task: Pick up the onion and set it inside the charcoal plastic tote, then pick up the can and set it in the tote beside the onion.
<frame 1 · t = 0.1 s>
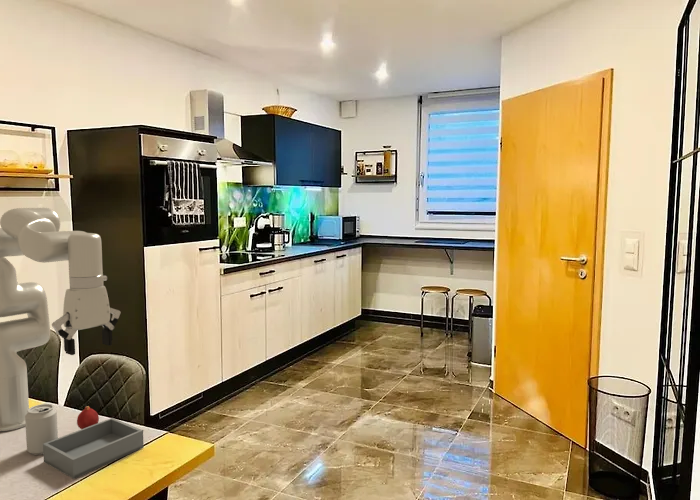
hand: (89, 349, 132), 31 cm above the table, tool pointing down, fingers open, 9 cm apart
onion: (88, 432, 154), on the table
tote: (95, 454, 141), on the table
can: (42, 450, 143), on the table
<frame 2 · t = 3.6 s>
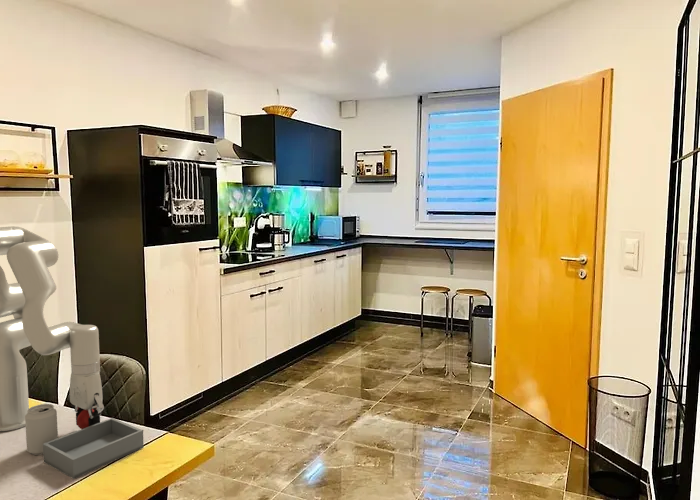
hand: (88, 426, 154), 2 cm above the table, tool pointing down, fingers closed on onion, 5 cm apart
onion: (88, 432, 154), on the table, touching gripper
everything else where it was.
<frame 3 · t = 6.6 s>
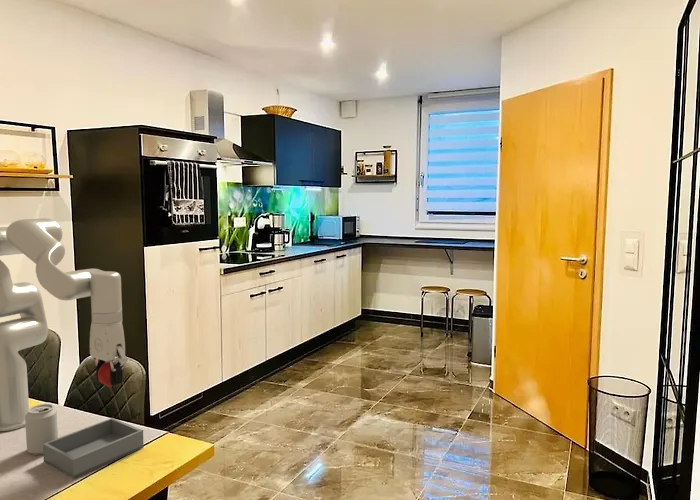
hand: (109, 380, 143), 19 cm above the table, tool pointing down, fingers closed on onion, 5 cm apart
onion: (109, 387, 143), point 17 cm above the table, touching gripper
everything else where it was.
when the fingers open (5 cm above the table, at t = 9.7 s): onion drops 2 cm, resting on tote.
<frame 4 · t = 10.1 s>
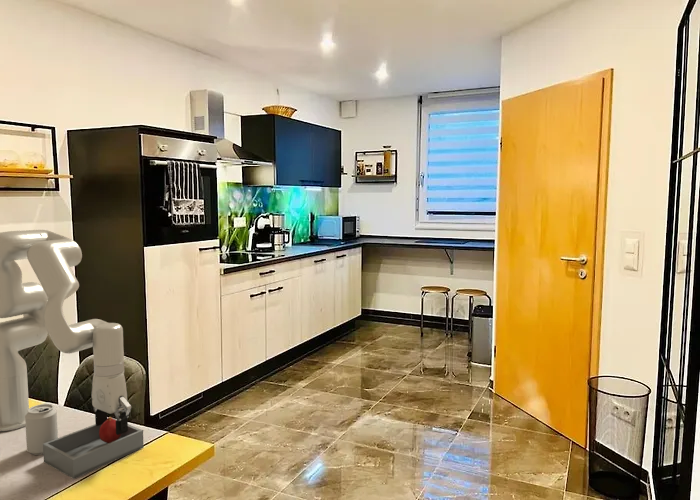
hand: (111, 428, 144), 6 cm above the table, tool pointing down, fingers open, 9 cm apart
onion: (111, 444, 145), point 1 cm above the table, touching tote
everything else where it was.
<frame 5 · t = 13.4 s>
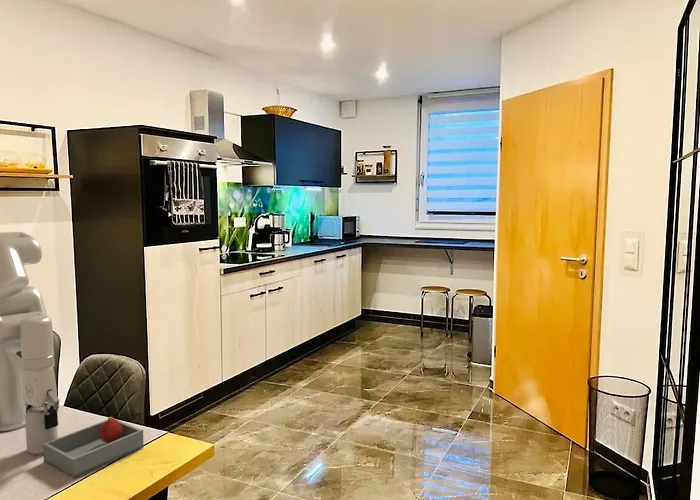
hand: (42, 423, 142), 8 cm above the table, tool pointing down, fingers open, 9 cm apart
nothing on the table moved.
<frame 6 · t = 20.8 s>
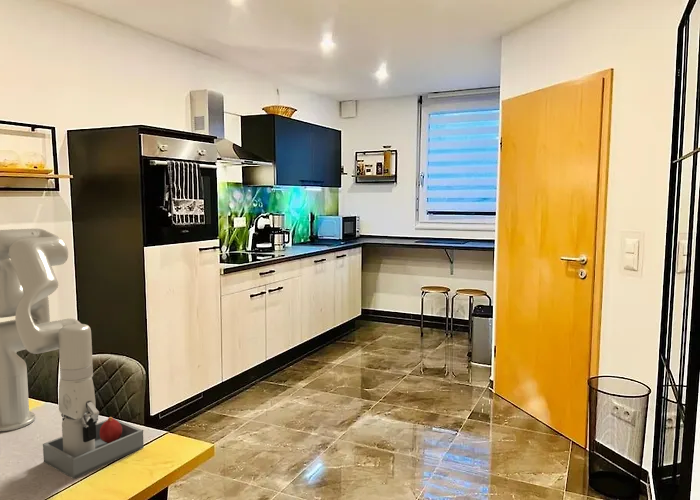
hand: (79, 435, 137), 7 cm above the table, tool pointing down, fingers open, 9 cm apart
can: (79, 458, 138), point 1 cm above the table, touching tote
everything else where it was.
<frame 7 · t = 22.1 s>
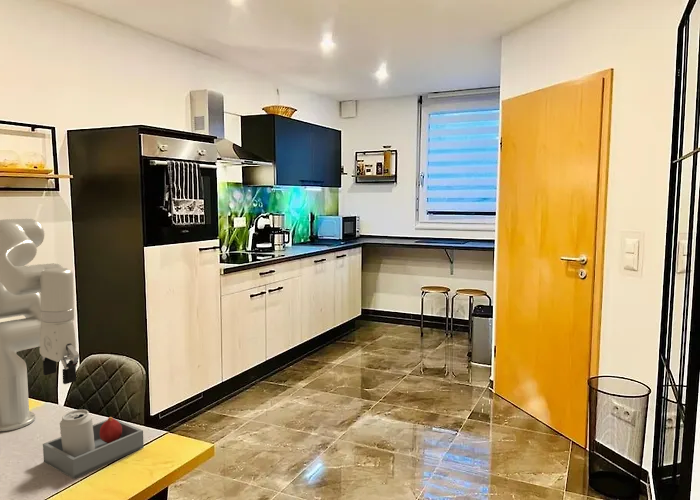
hand: (59, 378, 138), 21 cm above the table, tool pointing down, fingers open, 9 cm apart
nothing on the table moved.
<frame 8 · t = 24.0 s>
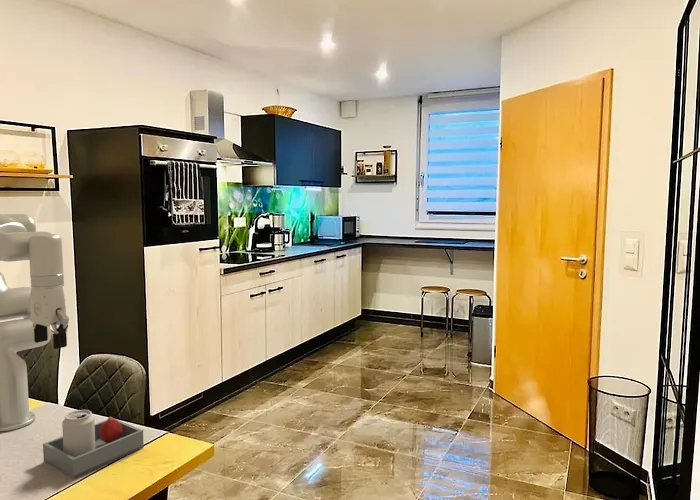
hand: (50, 344, 138), 30 cm above the table, tool pointing down, fingers open, 9 cm apart
nothing on the table moved.
at the end: onion inside the target area on the tote (5.0 cm from its centre), point 0.6 cm above the tote's base; can inside the target area on the tote (4.0 cm from its centre), point 0.6 cm above the tote's base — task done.
